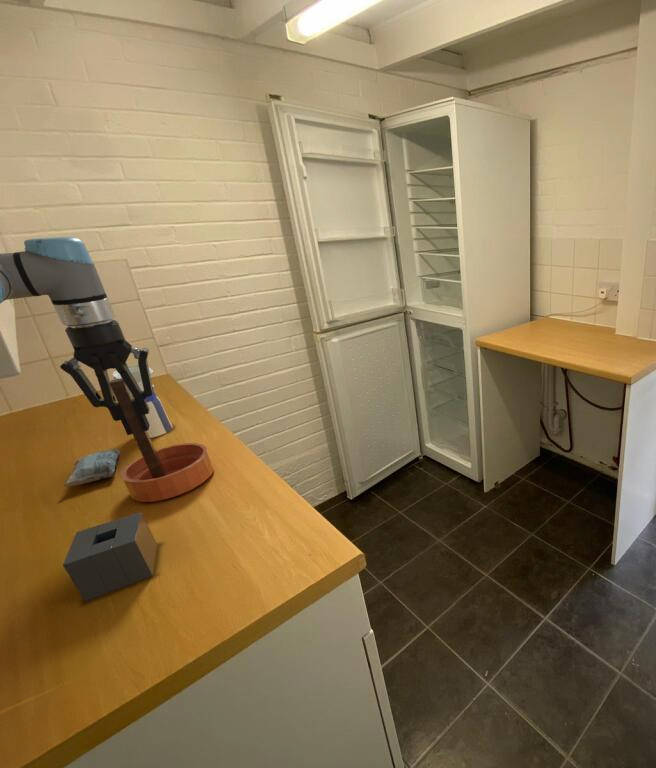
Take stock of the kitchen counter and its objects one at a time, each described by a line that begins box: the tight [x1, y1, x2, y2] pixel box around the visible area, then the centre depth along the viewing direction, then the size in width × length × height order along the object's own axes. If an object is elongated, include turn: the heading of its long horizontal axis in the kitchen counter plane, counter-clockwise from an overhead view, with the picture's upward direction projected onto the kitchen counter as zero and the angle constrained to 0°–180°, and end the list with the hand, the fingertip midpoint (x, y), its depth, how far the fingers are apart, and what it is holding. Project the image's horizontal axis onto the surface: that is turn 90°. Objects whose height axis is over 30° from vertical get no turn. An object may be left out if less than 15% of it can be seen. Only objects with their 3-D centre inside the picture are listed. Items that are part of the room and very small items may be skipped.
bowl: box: [120, 442, 215, 503], centre depth 96 cm, size 16×16×6 cm
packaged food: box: [63, 449, 121, 487], centre depth 100 cm, size 9×12×5 cm
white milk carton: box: [111, 364, 173, 439], centre depth 115 cm, size 8×9×25 cm
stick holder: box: [62, 511, 158, 602], centre depth 72 cm, size 9×9×8 cm
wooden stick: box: [110, 378, 166, 479], centre depth 89 cm, size 2×2×24 cm
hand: (138, 429), depth 89 cm, fingers closed on wooden stick, 2 cm apart
